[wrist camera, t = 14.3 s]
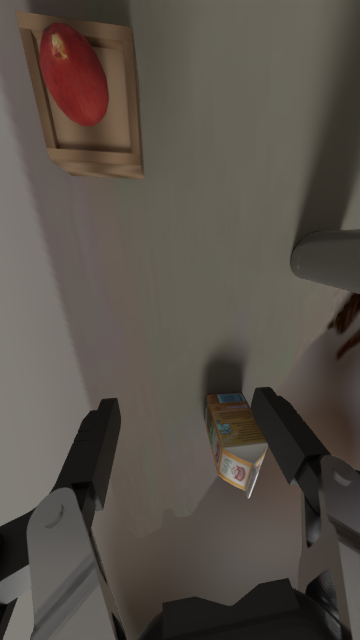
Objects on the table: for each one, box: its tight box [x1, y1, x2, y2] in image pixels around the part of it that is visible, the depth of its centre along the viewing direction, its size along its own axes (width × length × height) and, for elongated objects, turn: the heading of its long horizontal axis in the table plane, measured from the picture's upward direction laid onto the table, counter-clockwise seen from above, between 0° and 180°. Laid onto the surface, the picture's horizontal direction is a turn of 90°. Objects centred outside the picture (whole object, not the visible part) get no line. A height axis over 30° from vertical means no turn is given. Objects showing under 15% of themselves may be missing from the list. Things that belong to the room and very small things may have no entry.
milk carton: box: [204, 392, 268, 498], centre depth 44 cm, size 10×11×19 cm
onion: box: [39, 22, 109, 126], centre depth 17 cm, size 6×6×8 cm
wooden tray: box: [15, 11, 144, 179], centre depth 22 cm, size 11×11×6 cm
